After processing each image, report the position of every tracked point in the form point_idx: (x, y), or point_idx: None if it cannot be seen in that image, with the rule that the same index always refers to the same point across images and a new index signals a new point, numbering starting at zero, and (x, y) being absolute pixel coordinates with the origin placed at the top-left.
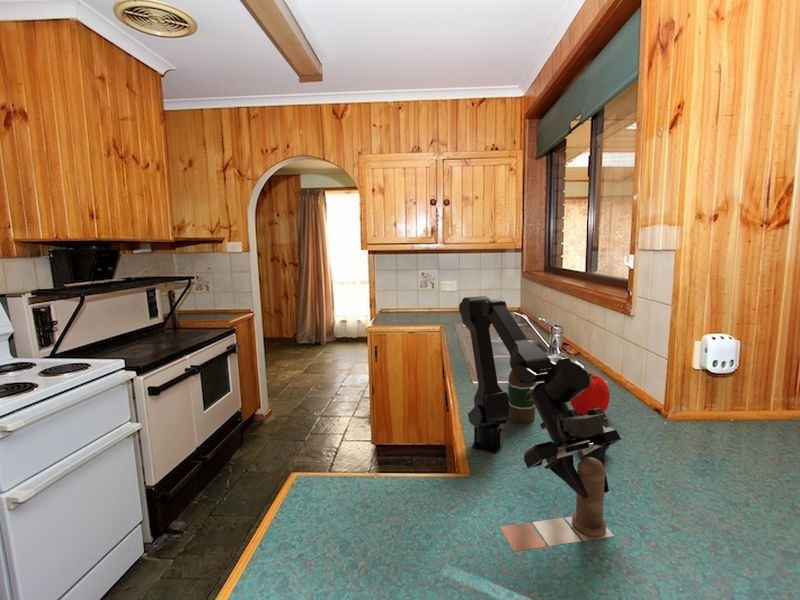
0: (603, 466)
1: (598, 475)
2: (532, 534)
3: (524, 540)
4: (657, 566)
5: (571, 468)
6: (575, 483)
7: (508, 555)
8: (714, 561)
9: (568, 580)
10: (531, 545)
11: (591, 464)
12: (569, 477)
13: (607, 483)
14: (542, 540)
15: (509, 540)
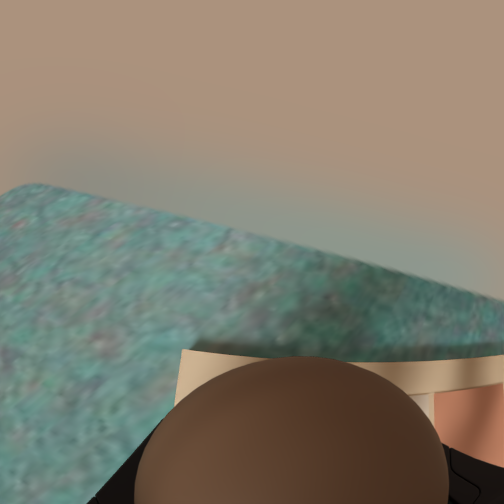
0: (178, 424)
1: (318, 357)
2: (449, 441)
3: (474, 420)
4: (162, 282)
5: (495, 491)
6: None
7: None
8: (40, 254)
9: (411, 306)
10: (466, 400)
11: (397, 435)
12: None
13: (145, 440)
14: (435, 417)
15: (501, 420)
